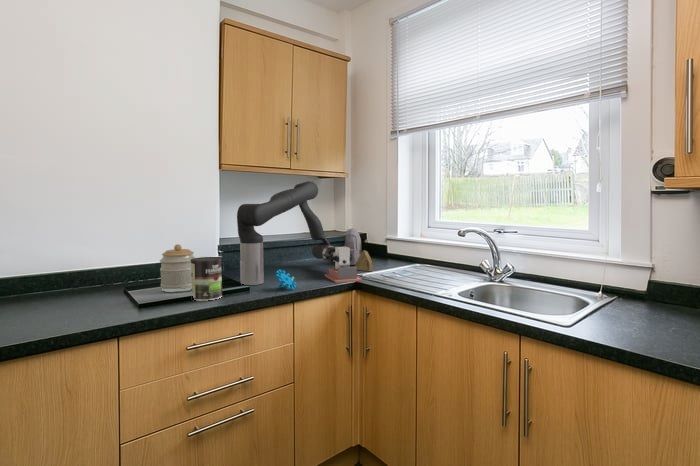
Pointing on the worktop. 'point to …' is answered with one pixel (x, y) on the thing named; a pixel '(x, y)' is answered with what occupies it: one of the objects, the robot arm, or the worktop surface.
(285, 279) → the gear
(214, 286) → the coffee can
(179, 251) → the jar
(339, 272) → the coupler cradle
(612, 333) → the worktop surface
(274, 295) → the worktop surface
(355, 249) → the small grey backpack
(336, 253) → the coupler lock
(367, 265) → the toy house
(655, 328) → the worktop surface
